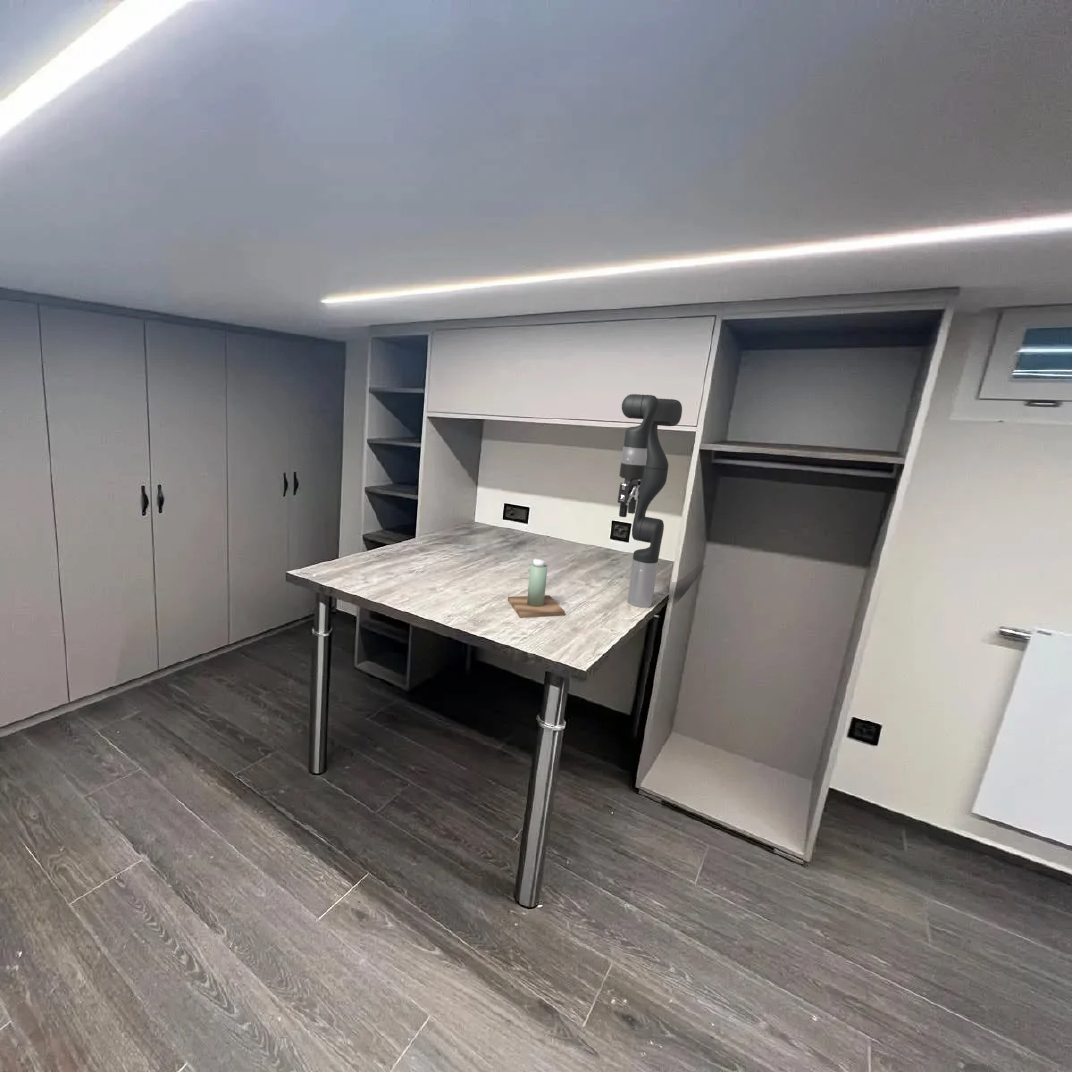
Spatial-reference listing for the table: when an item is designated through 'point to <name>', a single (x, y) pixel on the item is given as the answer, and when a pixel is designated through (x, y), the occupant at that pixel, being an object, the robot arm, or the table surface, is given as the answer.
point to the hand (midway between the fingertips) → (627, 515)
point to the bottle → (537, 583)
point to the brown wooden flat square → (529, 611)
